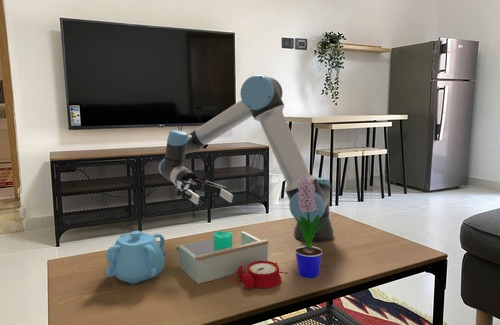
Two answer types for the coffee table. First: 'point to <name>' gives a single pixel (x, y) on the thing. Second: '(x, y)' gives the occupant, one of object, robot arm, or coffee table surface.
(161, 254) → the decorative pot
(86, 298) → the coffee table surface
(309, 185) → the hyacinth
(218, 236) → the candle
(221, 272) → the white u-shaped frame
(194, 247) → the slate tile
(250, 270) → the alarm clock
